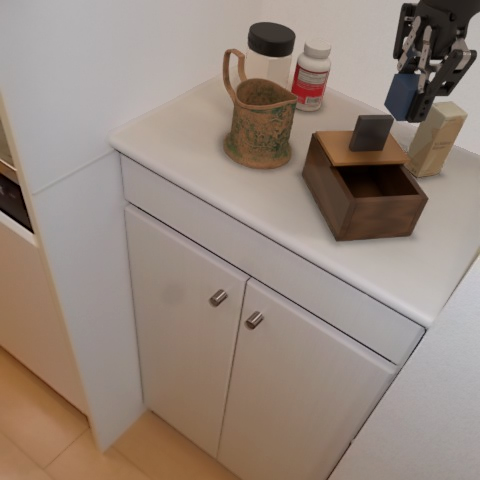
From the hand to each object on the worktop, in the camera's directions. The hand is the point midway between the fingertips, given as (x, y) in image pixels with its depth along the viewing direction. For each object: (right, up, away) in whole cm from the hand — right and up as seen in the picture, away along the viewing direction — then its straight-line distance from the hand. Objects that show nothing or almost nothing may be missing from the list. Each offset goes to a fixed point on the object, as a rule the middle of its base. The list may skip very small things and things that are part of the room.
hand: (405, 110), depth 66 cm
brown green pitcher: (-19, +4, +23) cm, 31 cm away
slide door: (-3, -1, +11) cm, 12 cm away
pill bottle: (-8, +15, +34) cm, 38 cm away
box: (+10, 0, +24) cm, 26 cm away
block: (0, 0, 0) cm, 0 cm away
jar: (-17, +15, +33) cm, 40 cm away
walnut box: (-3, -8, +15) cm, 18 cm away
